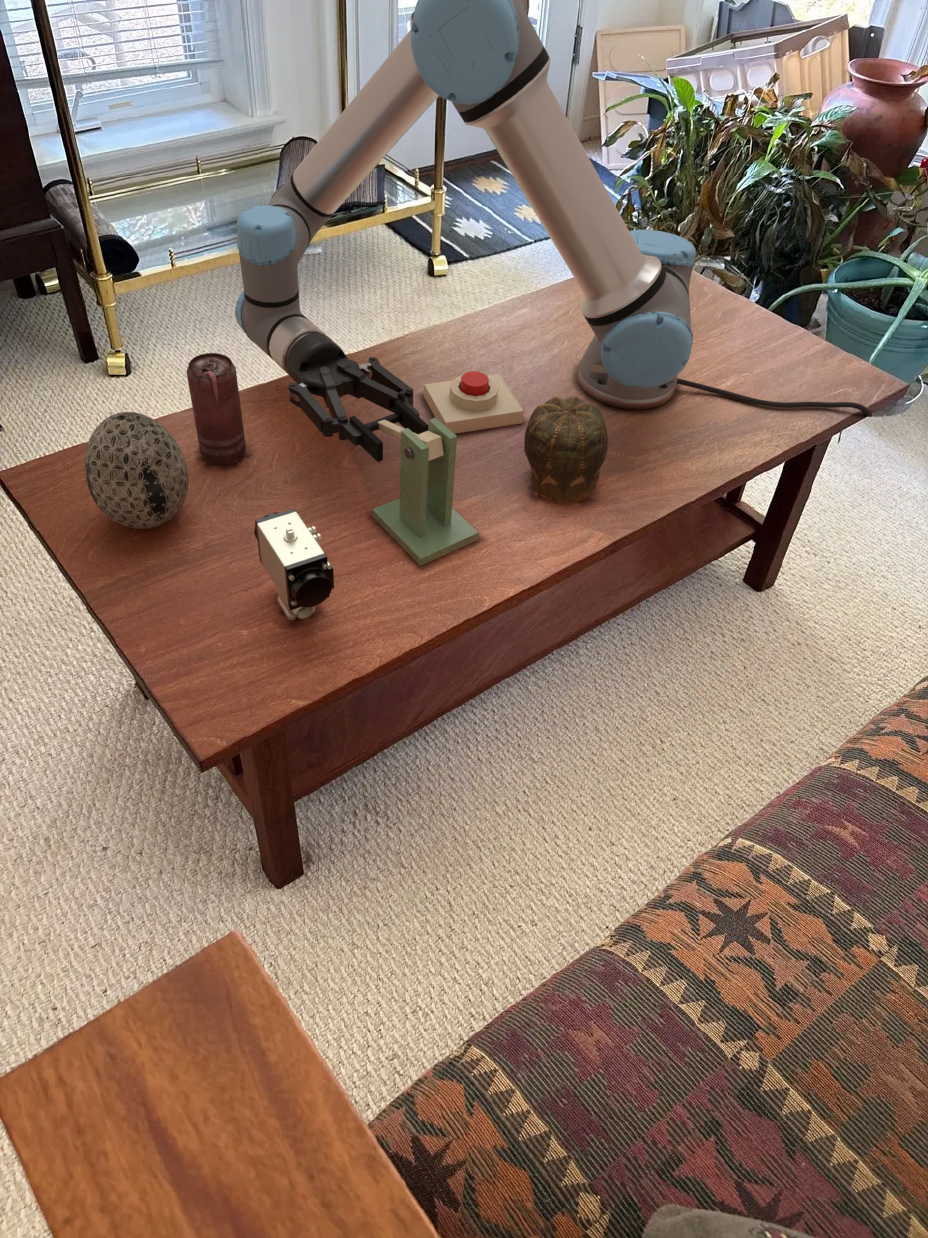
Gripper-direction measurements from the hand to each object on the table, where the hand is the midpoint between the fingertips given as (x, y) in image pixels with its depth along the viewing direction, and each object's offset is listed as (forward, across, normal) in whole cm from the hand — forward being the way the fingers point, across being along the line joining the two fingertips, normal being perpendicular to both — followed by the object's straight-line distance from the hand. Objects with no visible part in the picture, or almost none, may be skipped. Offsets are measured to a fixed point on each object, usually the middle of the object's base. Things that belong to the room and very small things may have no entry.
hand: (403, 443), depth 117 cm
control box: (-13, -21, -10) cm, 27 cm away
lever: (+1, 0, 0) cm, 1 cm away
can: (-22, +14, -10) cm, 28 cm away
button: (-13, -21, -6) cm, 25 cm away
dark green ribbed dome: (+7, -21, -10) cm, 24 cm away
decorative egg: (-15, +29, -10) cm, 34 cm away
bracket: (+5, 0, -10) cm, 11 cm away
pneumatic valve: (+9, +20, -10) cm, 24 cm away
